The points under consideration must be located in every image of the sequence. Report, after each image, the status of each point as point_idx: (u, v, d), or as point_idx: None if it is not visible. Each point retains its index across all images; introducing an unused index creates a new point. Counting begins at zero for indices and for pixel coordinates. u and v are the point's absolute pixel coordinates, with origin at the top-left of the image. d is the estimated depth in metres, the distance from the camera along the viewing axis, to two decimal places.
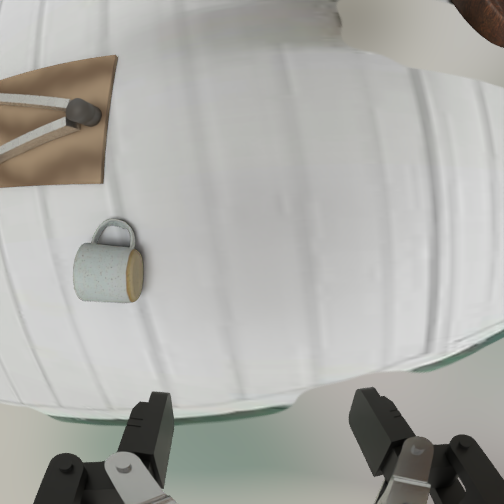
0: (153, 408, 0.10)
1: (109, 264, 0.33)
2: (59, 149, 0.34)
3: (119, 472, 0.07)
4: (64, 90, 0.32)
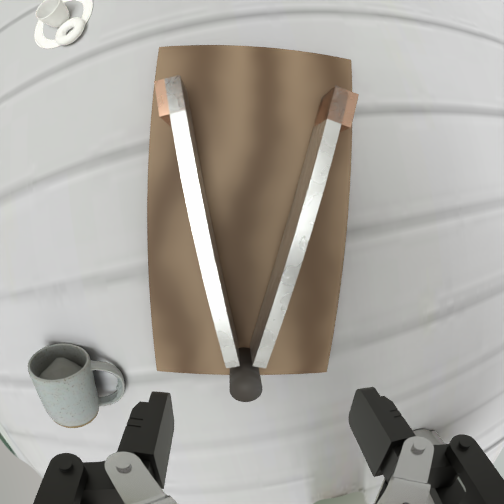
0: (153, 408, 0.10)
1: (74, 413, 0.25)
2: (201, 314, 0.28)
3: (119, 472, 0.07)
4: (291, 311, 0.29)
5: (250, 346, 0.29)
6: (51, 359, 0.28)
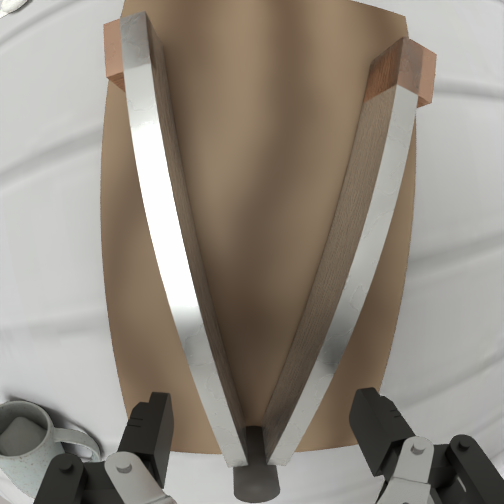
0: (153, 408, 0.10)
1: None
2: (190, 386, 0.18)
3: (119, 472, 0.07)
4: None
5: (262, 427, 0.18)
6: (10, 417, 0.18)
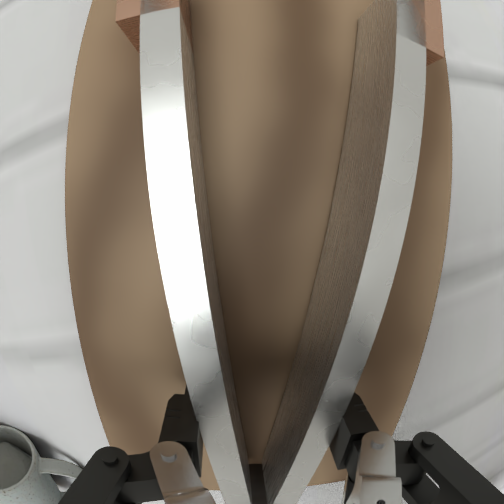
0: (190, 399, 0.11)
1: None
2: None
3: (166, 461, 0.07)
4: None
5: (263, 467, 0.15)
6: None
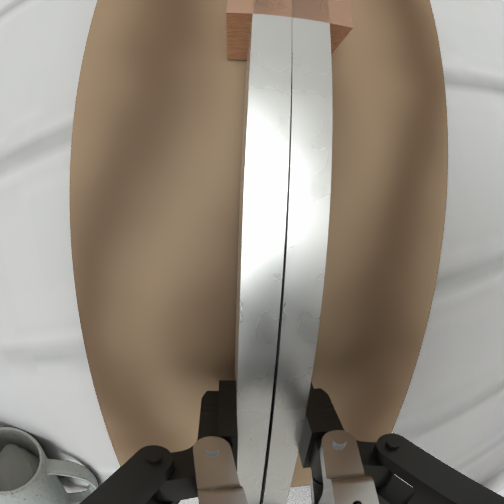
0: (225, 395, 0.11)
1: None
2: (183, 424, 0.15)
3: (210, 456, 0.08)
4: None
5: None
6: (0, 444, 0.15)
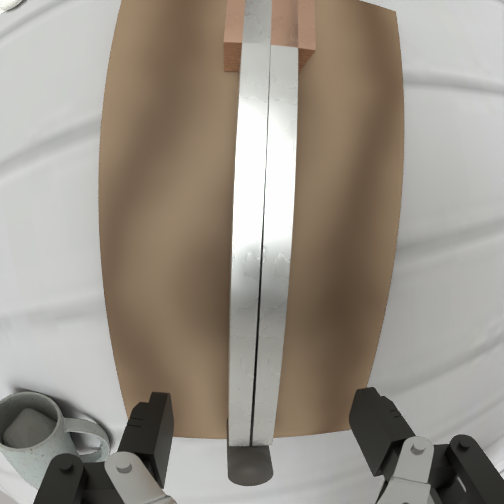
0: (153, 408, 0.10)
1: None
2: (185, 369, 0.19)
3: (119, 472, 0.07)
4: (313, 364, 0.19)
5: None
6: (17, 409, 0.19)
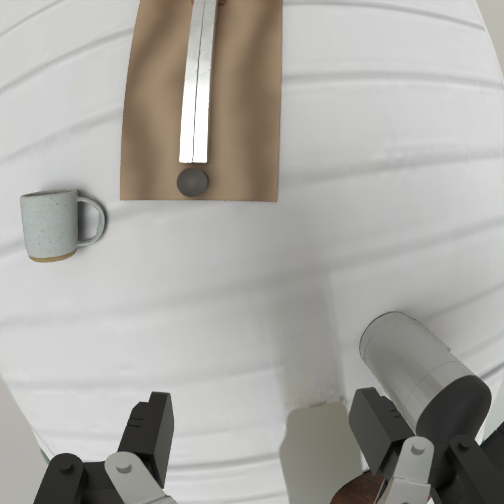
0: (153, 408, 0.10)
1: (52, 238, 0.28)
2: (162, 138, 0.32)
3: (119, 472, 0.07)
4: (237, 135, 0.32)
5: (197, 162, 0.32)
6: None
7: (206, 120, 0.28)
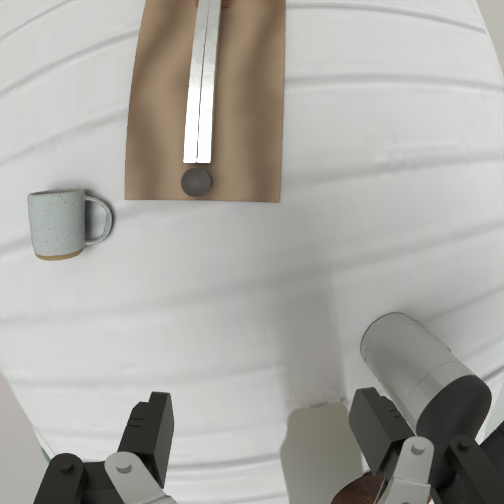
0: (153, 408, 0.10)
1: (59, 236, 0.29)
2: (166, 139, 0.32)
3: (119, 472, 0.07)
4: (241, 137, 0.33)
5: (201, 163, 0.33)
6: None
7: (210, 121, 0.29)
